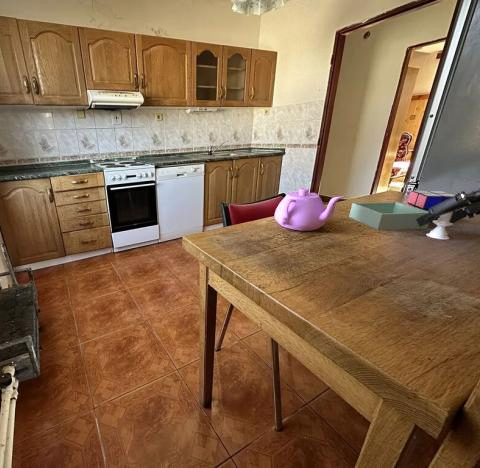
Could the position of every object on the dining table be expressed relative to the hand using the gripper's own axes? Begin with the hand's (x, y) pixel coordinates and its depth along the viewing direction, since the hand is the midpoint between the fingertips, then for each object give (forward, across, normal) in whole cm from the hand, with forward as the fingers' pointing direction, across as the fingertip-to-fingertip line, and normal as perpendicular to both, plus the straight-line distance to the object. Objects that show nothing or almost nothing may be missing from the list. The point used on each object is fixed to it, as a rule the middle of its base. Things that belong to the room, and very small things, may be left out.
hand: (431, 222), depth 85 cm
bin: (+11, +5, -6) cm, 13 cm away
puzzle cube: (+13, -13, -8) cm, 20 cm away
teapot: (+9, +37, -3) cm, 38 cm away
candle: (0, 0, +5) cm, 5 cm away
